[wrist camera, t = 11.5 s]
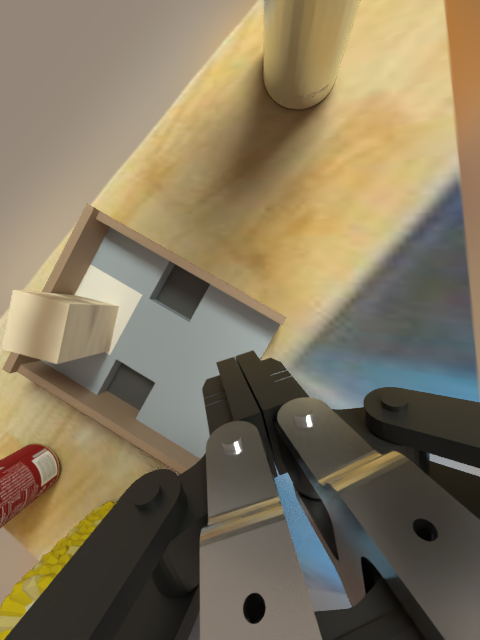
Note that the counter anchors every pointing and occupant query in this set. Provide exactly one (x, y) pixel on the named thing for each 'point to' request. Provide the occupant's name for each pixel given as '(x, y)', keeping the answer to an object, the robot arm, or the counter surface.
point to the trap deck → (148, 338)
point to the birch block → (58, 326)
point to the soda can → (25, 478)
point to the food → (47, 571)
